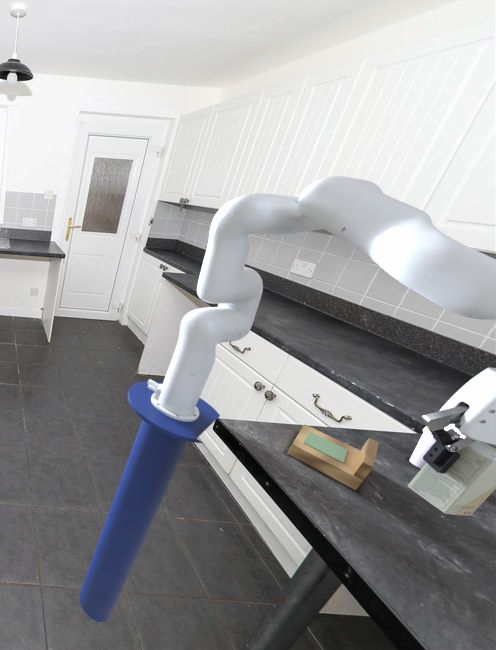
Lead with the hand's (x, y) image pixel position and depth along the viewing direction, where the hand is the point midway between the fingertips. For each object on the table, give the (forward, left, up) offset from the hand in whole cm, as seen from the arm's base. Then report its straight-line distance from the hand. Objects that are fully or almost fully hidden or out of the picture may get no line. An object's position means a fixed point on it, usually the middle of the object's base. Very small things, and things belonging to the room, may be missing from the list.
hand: (461, 473), depth 50 cm
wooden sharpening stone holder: (-11, +24, -21) cm, 34 cm away
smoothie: (+4, +44, -21) cm, 49 cm away
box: (0, 0, -6) cm, 6 cm away
